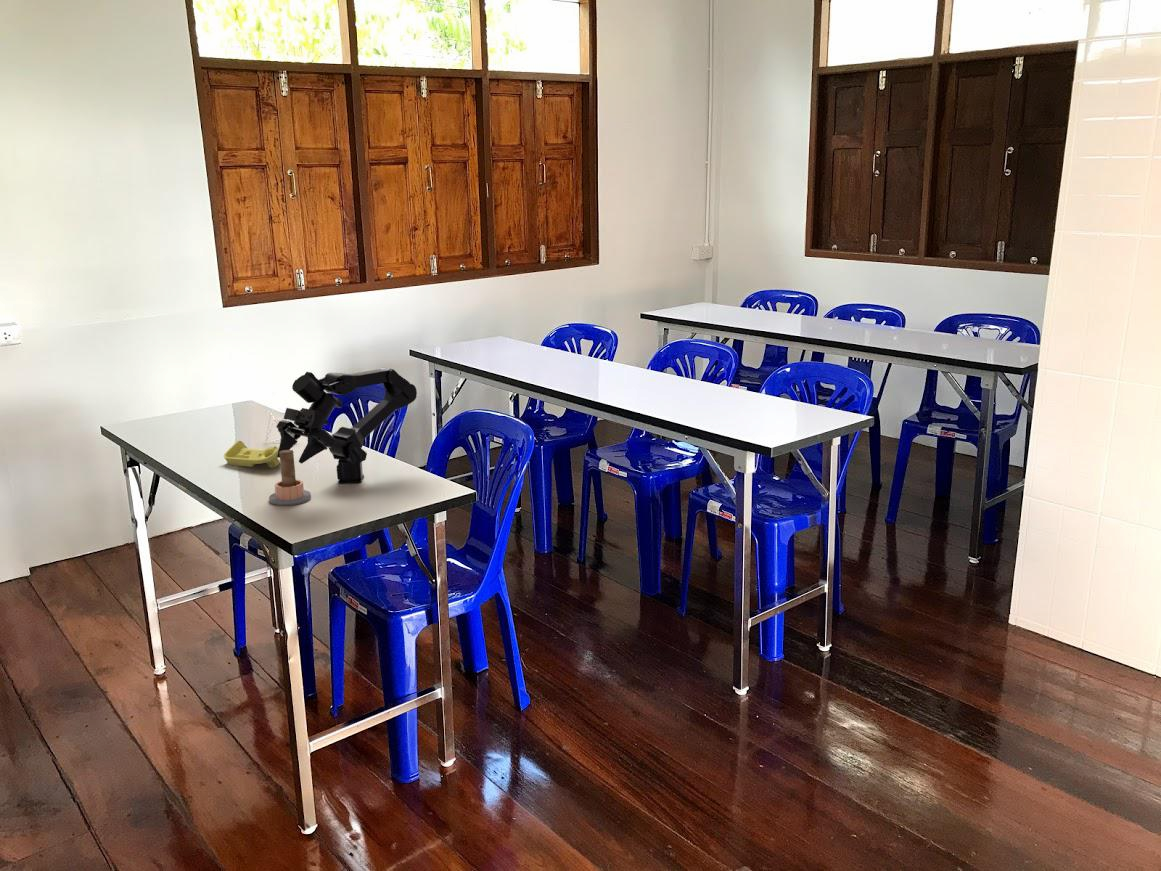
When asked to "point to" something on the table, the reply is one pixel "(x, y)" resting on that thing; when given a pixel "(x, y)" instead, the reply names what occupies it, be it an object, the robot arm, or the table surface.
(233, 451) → the plastic component
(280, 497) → the ring
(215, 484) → the table surface
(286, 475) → the walnut rail post
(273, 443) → the geometric polyhedron
